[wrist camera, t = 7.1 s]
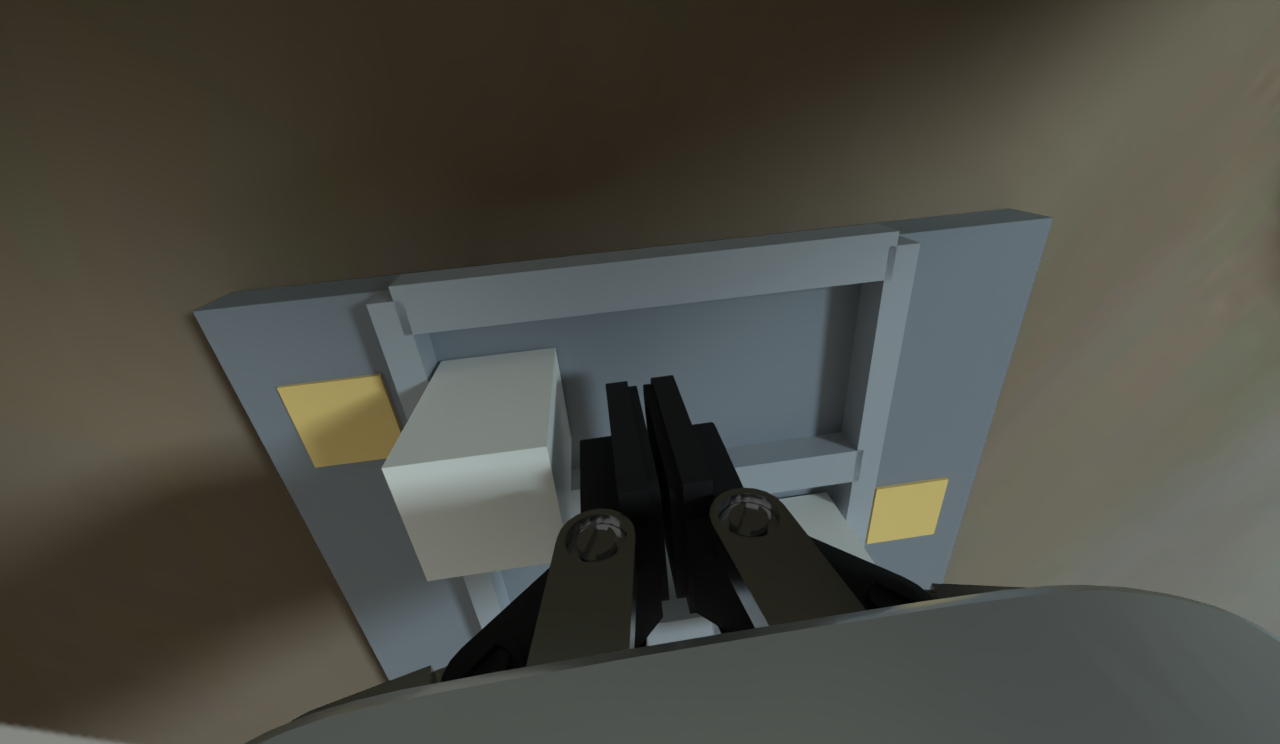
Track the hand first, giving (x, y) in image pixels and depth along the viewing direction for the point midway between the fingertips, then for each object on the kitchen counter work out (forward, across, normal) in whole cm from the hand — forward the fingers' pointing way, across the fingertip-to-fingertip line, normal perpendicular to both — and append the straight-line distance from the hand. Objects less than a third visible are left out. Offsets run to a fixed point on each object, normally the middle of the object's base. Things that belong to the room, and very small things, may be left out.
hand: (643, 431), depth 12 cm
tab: (+2, +4, 0) cm, 4 cm away
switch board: (+4, -1, +6) cm, 7 cm away
